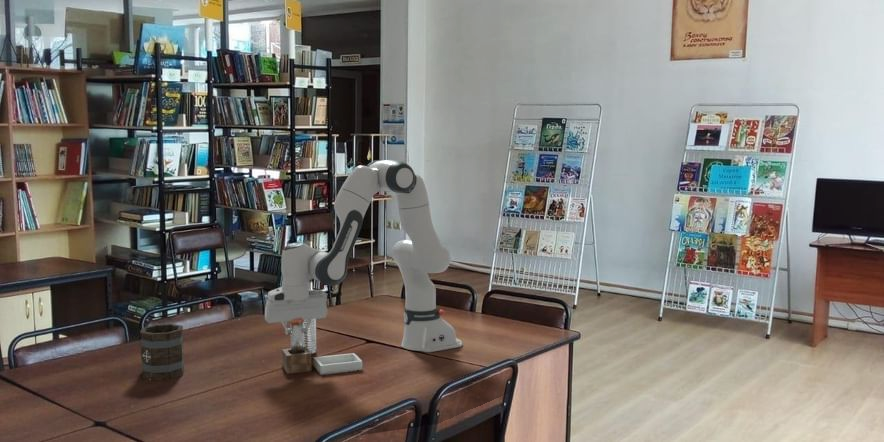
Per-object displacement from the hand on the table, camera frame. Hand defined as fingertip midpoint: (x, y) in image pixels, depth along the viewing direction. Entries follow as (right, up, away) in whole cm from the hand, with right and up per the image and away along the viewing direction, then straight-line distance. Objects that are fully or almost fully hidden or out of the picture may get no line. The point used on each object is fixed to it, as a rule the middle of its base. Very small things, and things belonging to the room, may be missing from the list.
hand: (296, 333), depth 254 cm
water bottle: (0, -10, +19) cm, 22 cm away
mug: (-44, -12, -3) cm, 46 cm away
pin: (0, -8, +1) cm, 8 cm away
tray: (+13, -12, +2) cm, 18 cm away
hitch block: (0, -12, +1) cm, 12 cm away
